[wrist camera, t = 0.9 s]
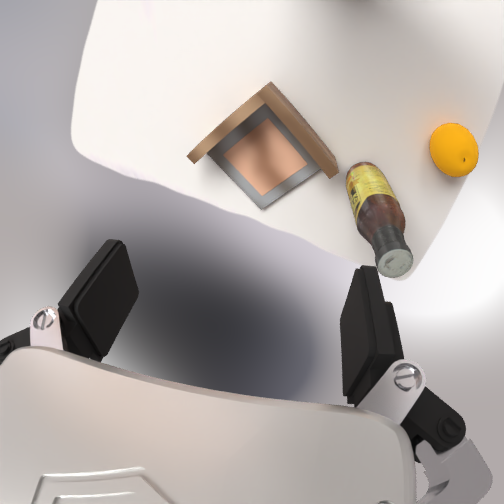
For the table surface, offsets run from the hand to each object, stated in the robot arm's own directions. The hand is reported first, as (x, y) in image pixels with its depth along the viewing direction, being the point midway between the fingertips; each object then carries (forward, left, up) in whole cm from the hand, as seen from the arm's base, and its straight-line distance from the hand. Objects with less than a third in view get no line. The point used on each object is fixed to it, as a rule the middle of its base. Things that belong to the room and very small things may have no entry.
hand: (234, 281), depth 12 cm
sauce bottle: (-3, +16, -35) cm, 39 cm away
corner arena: (+6, +3, -35) cm, 36 cm away
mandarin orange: (-18, +18, -35) cm, 43 cm away
